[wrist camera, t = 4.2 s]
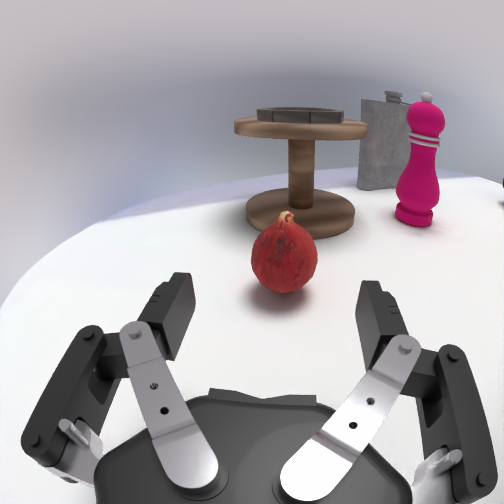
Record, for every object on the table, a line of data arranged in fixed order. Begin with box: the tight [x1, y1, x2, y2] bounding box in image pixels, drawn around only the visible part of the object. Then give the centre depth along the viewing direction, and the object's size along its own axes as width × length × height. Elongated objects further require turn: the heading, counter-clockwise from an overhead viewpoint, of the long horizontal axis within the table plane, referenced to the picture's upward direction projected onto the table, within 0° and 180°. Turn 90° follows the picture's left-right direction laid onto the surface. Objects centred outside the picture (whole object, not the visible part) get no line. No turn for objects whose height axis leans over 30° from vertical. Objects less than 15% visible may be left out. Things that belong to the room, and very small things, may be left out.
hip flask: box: [357, 91, 411, 191], centre depth 50 cm, size 16×4×20 cm, turn 103°
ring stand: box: [234, 107, 368, 239], centre depth 39 cm, size 18×18×16 cm
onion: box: [251, 211, 318, 293], centre depth 26 cm, size 6×6×8 cm
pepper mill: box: [395, 92, 445, 227], centre depth 36 cm, size 7×7×20 cm
